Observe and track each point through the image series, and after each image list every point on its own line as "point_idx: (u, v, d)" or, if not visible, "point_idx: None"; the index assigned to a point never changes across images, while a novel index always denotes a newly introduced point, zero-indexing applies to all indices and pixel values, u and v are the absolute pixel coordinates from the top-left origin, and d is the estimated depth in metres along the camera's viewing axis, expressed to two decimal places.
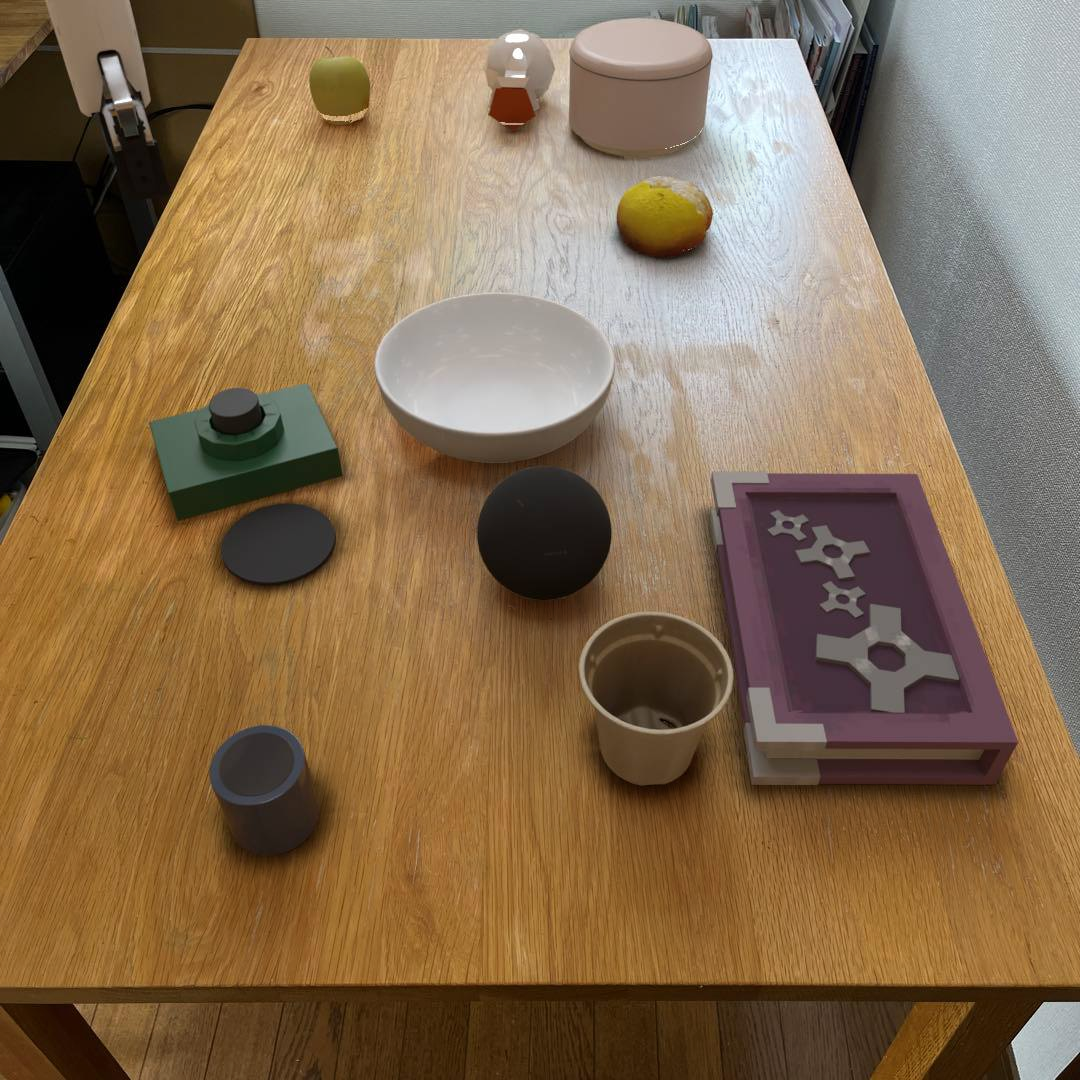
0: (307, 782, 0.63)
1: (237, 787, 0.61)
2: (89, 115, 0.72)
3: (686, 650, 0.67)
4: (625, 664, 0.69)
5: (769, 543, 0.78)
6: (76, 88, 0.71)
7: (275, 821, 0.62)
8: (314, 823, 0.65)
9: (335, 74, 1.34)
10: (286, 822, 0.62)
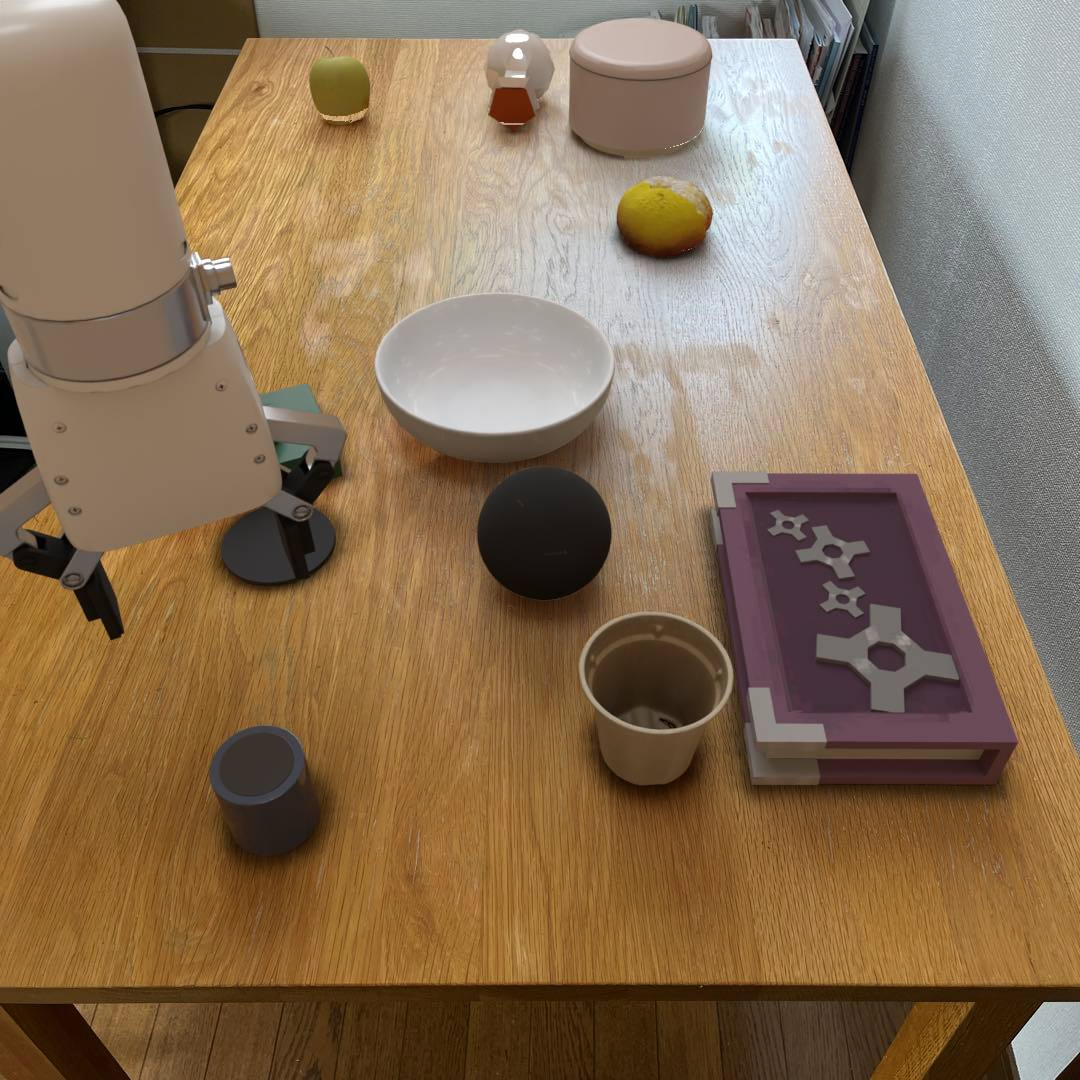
0: (307, 782, 0.63)
1: (237, 787, 0.61)
2: None
3: (686, 650, 0.67)
4: (625, 664, 0.69)
5: (769, 543, 0.78)
6: None
7: (275, 821, 0.62)
8: (314, 823, 0.65)
9: (335, 74, 1.34)
10: (286, 822, 0.62)
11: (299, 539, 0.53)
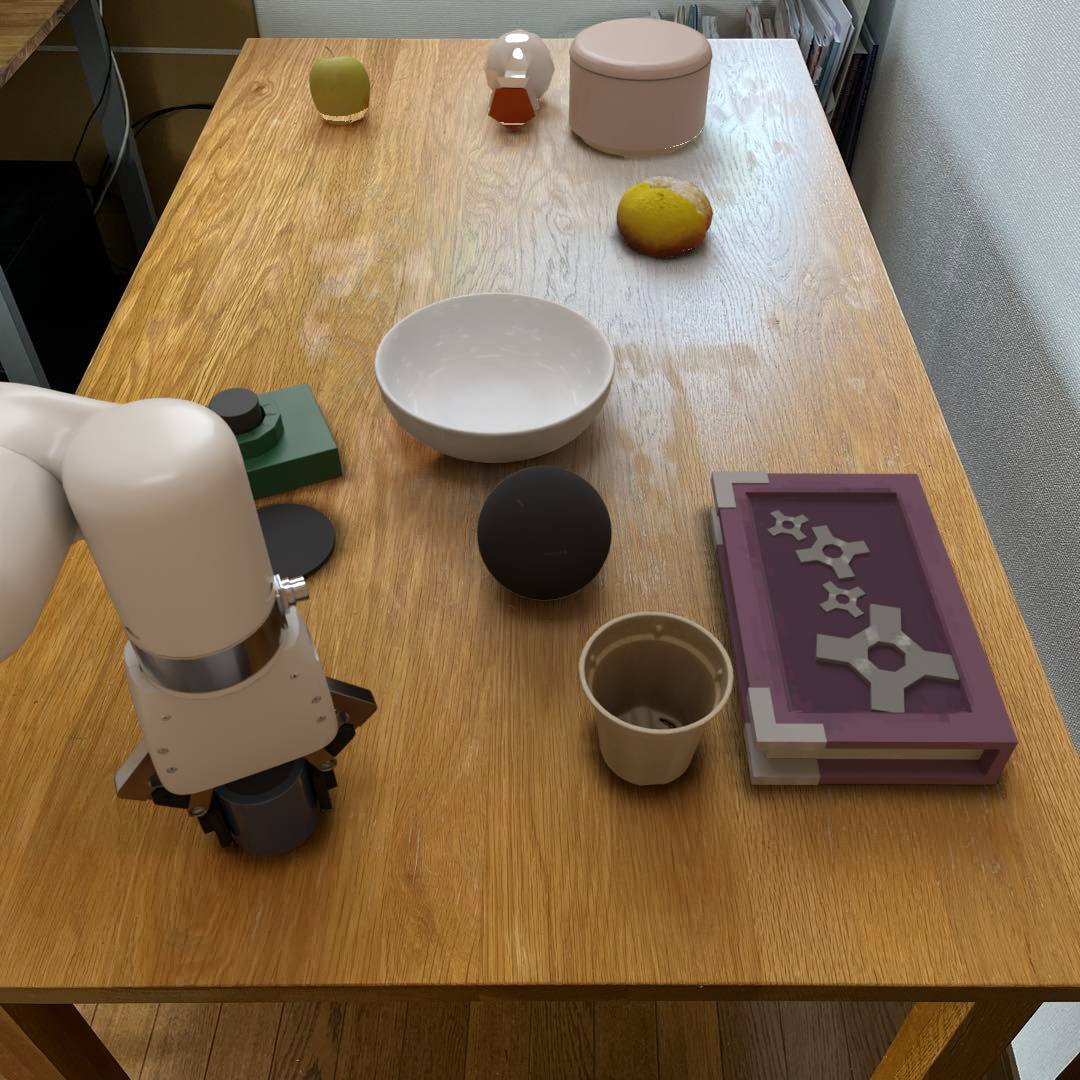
0: (307, 782, 0.63)
1: (237, 787, 0.61)
2: None
3: (686, 650, 0.67)
4: (625, 664, 0.69)
5: (769, 543, 0.78)
6: None
7: (275, 821, 0.62)
8: (314, 823, 0.65)
9: (335, 74, 1.34)
10: (286, 822, 0.62)
11: (325, 784, 0.64)
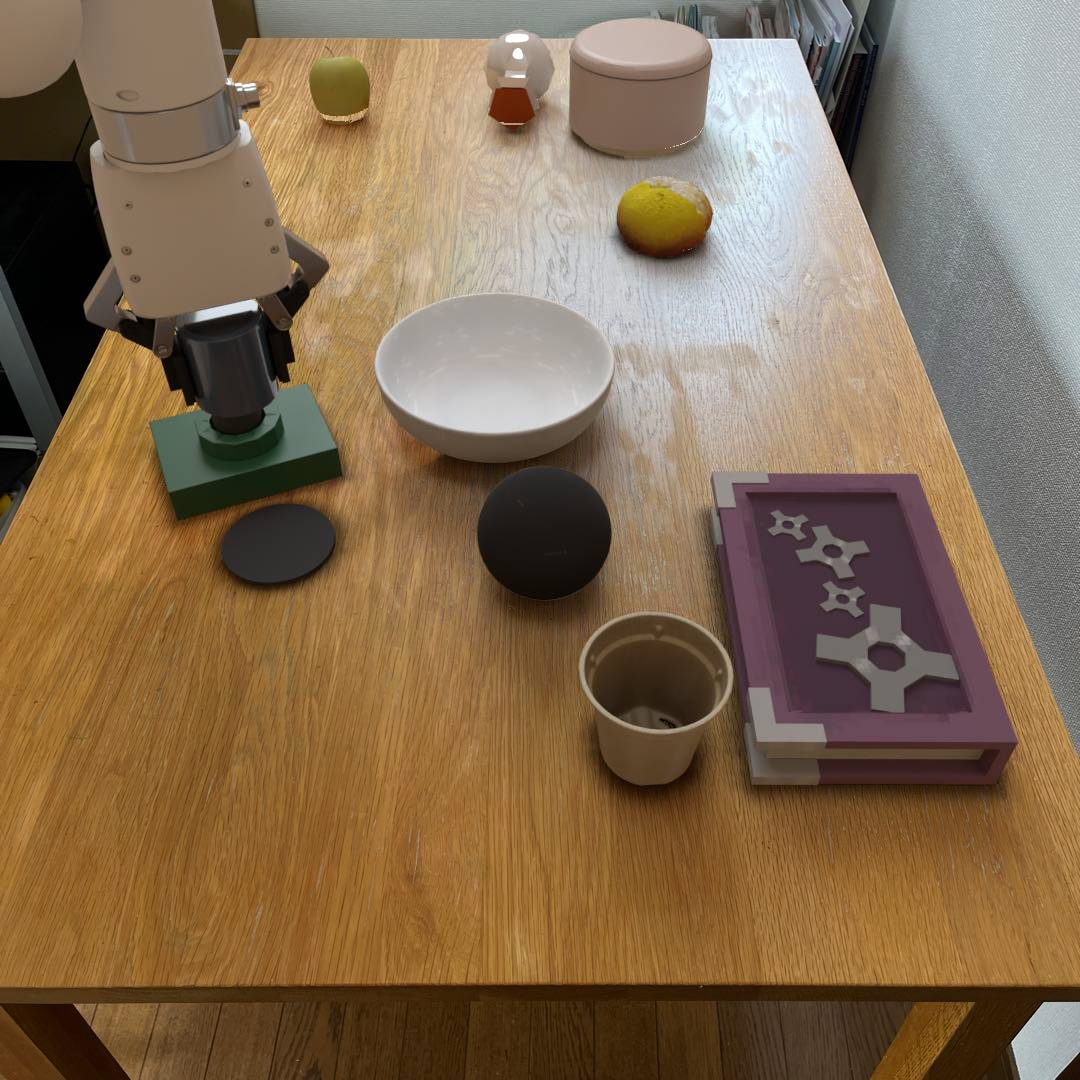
0: (265, 341, 0.68)
1: (199, 331, 0.66)
2: None
3: (686, 650, 0.67)
4: (625, 664, 0.69)
5: (769, 543, 0.78)
6: None
7: (234, 369, 0.67)
8: (273, 393, 0.70)
9: (335, 74, 1.34)
10: (245, 374, 0.67)
11: (281, 345, 0.68)
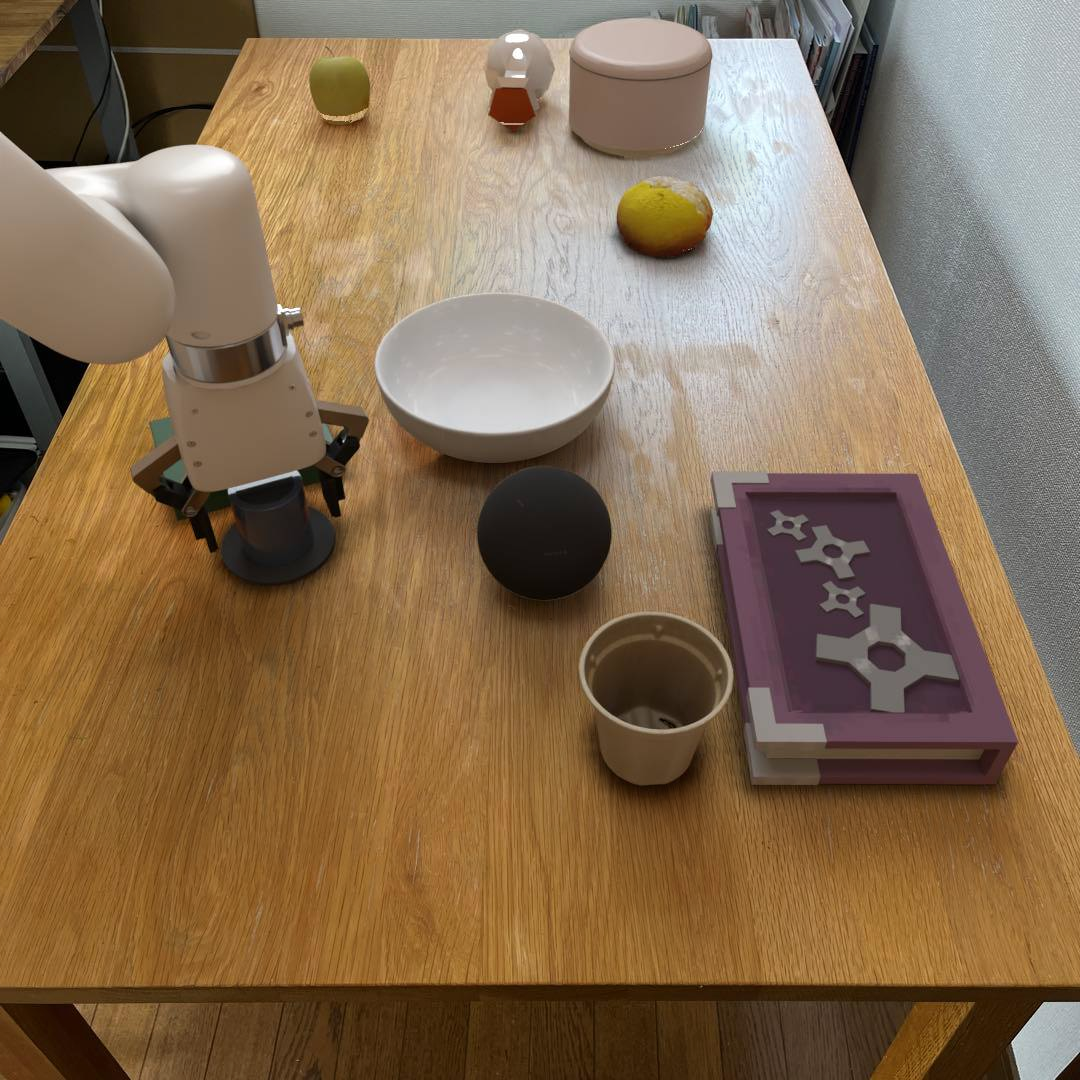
0: (304, 503, 0.80)
1: (249, 499, 0.78)
2: None
3: (686, 650, 0.67)
4: (625, 664, 0.69)
5: (769, 543, 0.78)
6: None
7: (279, 529, 0.79)
8: (310, 544, 0.82)
9: (335, 74, 1.34)
10: (287, 533, 0.80)
11: (335, 489, 0.80)
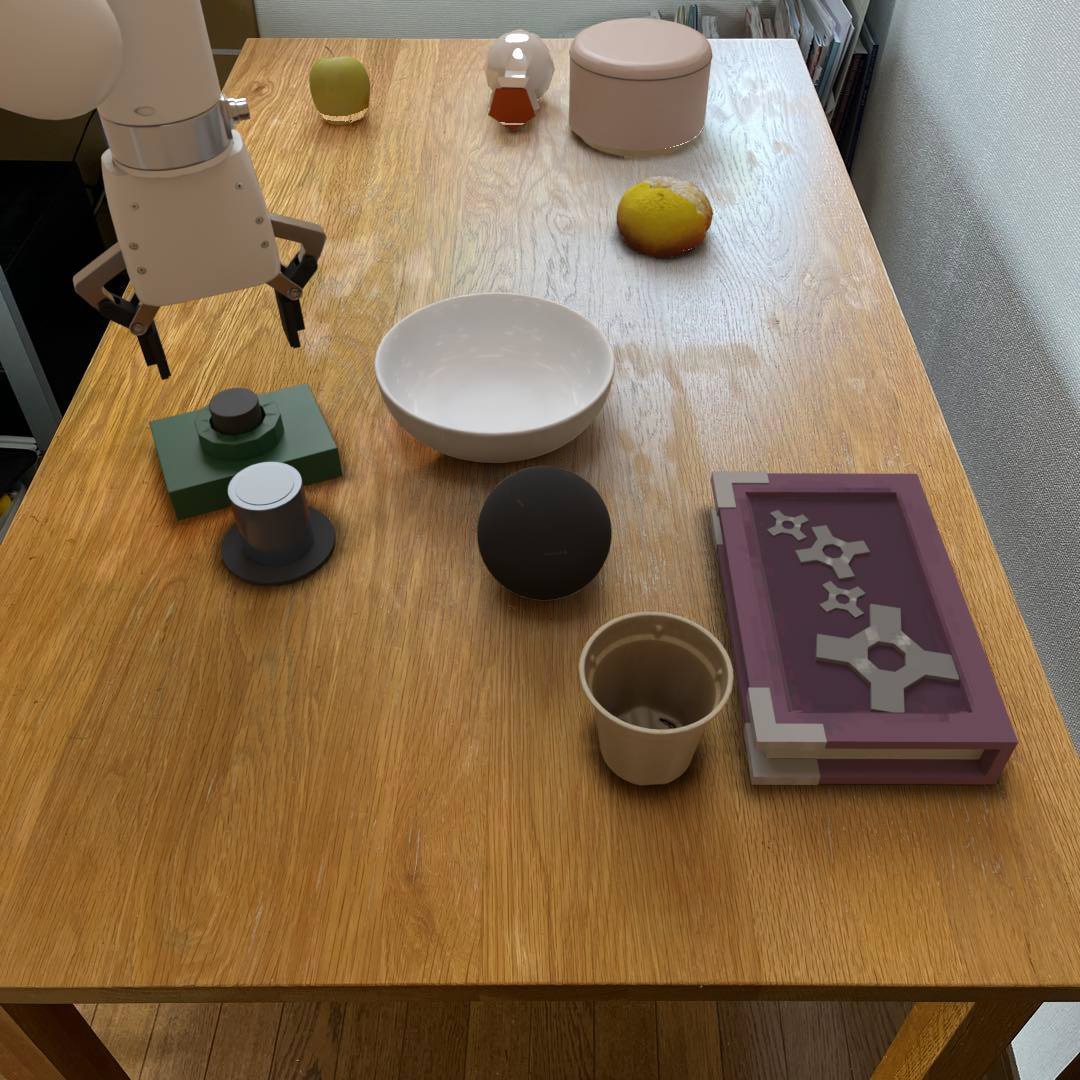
0: (304, 503, 0.80)
1: (249, 499, 0.78)
2: None
3: (686, 650, 0.67)
4: (625, 664, 0.69)
5: (769, 543, 0.78)
6: None
7: (279, 529, 0.79)
8: (310, 544, 0.82)
9: (335, 74, 1.34)
10: (287, 533, 0.80)
11: (293, 314, 0.76)
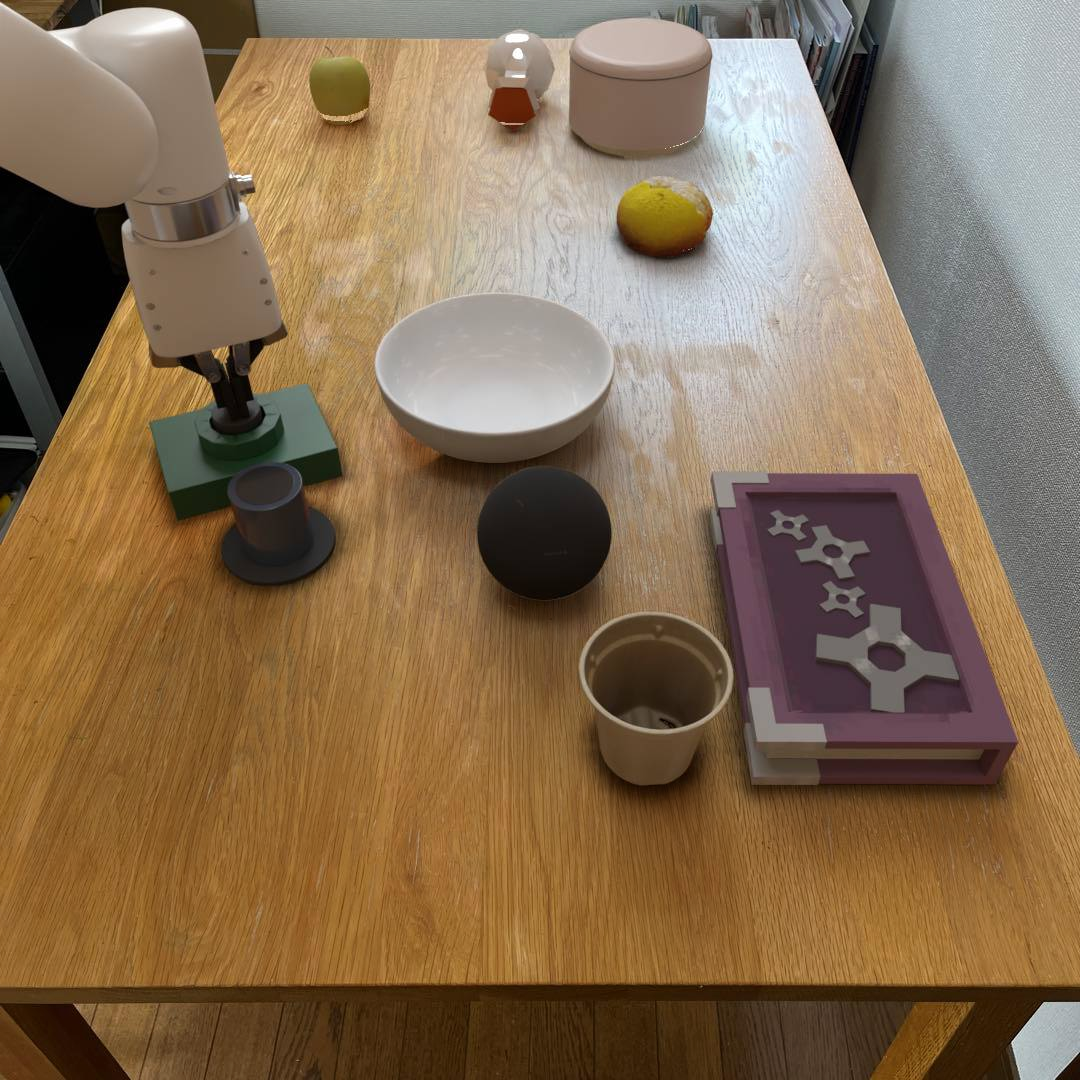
0: (304, 503, 0.80)
1: (249, 499, 0.78)
2: None
3: (686, 650, 0.67)
4: (625, 664, 0.69)
5: (769, 543, 0.78)
6: None
7: (279, 529, 0.79)
8: (310, 544, 0.82)
9: (335, 74, 1.34)
10: (287, 533, 0.80)
11: (242, 388, 0.84)
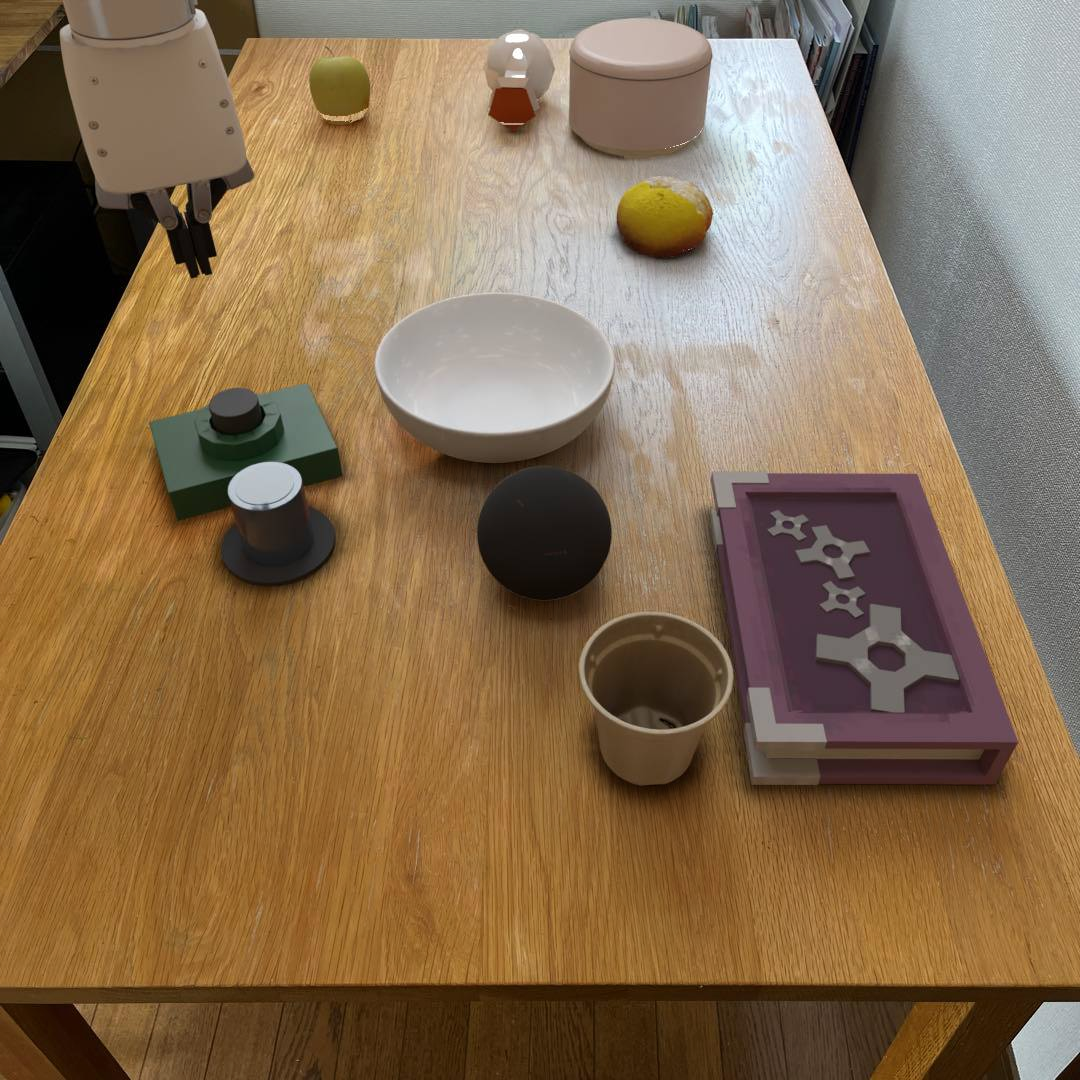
0: (304, 503, 0.80)
1: (249, 499, 0.78)
2: None
3: (686, 650, 0.67)
4: (625, 664, 0.69)
5: (769, 543, 0.78)
6: None
7: (279, 529, 0.79)
8: (310, 544, 0.82)
9: (335, 74, 1.34)
10: (287, 533, 0.80)
11: (202, 237, 0.74)
